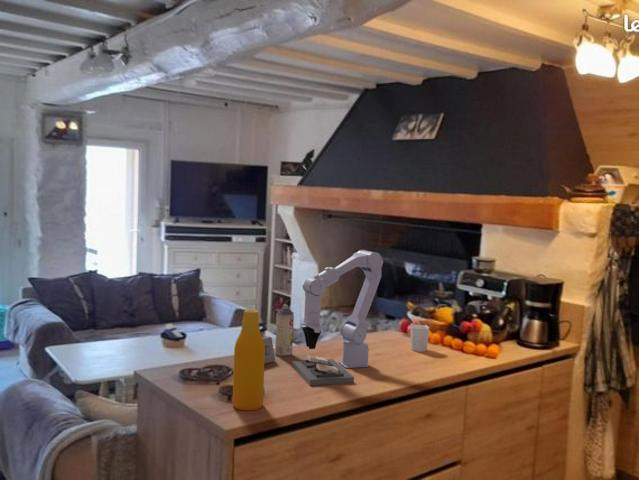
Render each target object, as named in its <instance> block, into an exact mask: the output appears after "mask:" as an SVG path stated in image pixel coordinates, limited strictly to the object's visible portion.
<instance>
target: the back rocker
mask: <svg viewBox="0 0 639 480" xmlns="http://www.w3.org/2000/svg"><path fill="white" fill-rule="evenodd" d="M327 359H328V358H325V357H320V356H315V355H310V354H307V356H306V360H309V361H311V362H316V363H318V361H321V363H323V364H328V360H327Z"/></svg>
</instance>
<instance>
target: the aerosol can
mask: <svg viewBox="0 0 639 480" xmlns="http://www.w3.org/2000/svg"><path fill="white" fill-rule="evenodd" d="M294 316H295V314H294V311H292V310H291V309H290V307H289V305H288V304H283V306H282V307H281V308H280V309H279V311H276V323H275V324H276V325H275V347H274V355H275V357H276V356H277V357H281V358H282V357H283V358H287V357H291V356H292V355H293V341H294V323H295V322H294V320H295V319H294V318H295V317H294Z"/></svg>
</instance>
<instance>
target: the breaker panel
mask: <svg viewBox="0 0 639 480" xmlns="http://www.w3.org/2000/svg"><path fill="white" fill-rule="evenodd" d="M326 359H327V360H328V364H323V363H321V361H318V363H316V362H311V361H309V360H308V359H301V360H292V361H291V367H292V368H293V369H294V370H295V372H297V374H298V375H299V376H300V377H301V378H302V379H303V380H304V381H305V383H307V384H308V386H326V385H339V384H354V383H355V382H354V381H355V376H353V375H352V374H351V373H350V372H348V371H347V370H346V368H345V367H344V366H343V367H342V365H341V364H340V363H339V362H338V361H335V360H334V359H332V358H331V359H330V358H329V359H328V358H326ZM316 364H322V365H327V366H333V367H336V368H337V369H338V370H339V371H338V373H332V371H328V373H327V372H326V371H320V370H318V369H317V368H316Z"/></svg>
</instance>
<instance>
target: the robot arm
mask: <svg viewBox="0 0 639 480" xmlns="http://www.w3.org/2000/svg"><path fill="white" fill-rule="evenodd" d="M383 264H384V259H383V257H382V255H381V254H380V253H379V252H376V251H375V252H374V251H370V250H366V249H360V250H358V251H357V252H354V253H353V254H352V256H350V257H349V258H347V259H346V260H344V261H342V263H340V264H338V265H337V266H335V267H332V266H330V267H328V266H327V267H325V268H324V270H323V271H321V272H319V273H318V274H317V273H316V274H314V277H308V278H306V279H305V280H304V283H303V284H302V290H303V291H304V296H305V297H304V314H303V315H304V317H303V321H302V322H300V325H301V326H302V327H301V330H302V331H303V335H304V339H305V345H306V348H307V347H308V349H309V350H315V349H316V347H317V343H318V340H319V337H320V335H321V333H322V330H321V328H322V327H321V321H320V320H321V306H322V305H321V301H322V294H323V293H324V292H325V289H326V288H328V287H330V286H331V285H334V283H337V282H338V281H339V279H340V276H342V275H344V274H346V273H347V272H349V271H351V270H353V269H355V268H357V267H359V268H360V269H361V270H362V271H363V273H364V275H365V279H364V280H363V284H362V287H361V289H360V292H359V295H358V298H357V299H356V302H355V305H354V308H353V311H352V313H351V315H349V316H348V317H346V319H345V321H344V323H343V324H342V325H341V326H340V328H339V329H340V330H339V332H340V333H339V334H340V336H341V337H342V341H343V342H342V357H341V358H342V359H341V360H338V361H337V363H338V364H339V365H340V366H341V367H342V366H343V368H344V369H350V368H351V369H352V368H353V369H354V368H369V345H368V343H367V341H365V340H366V338H367V329H368V324H367V321H366V319H367V317H368V313H369V311H370V308H371V306H372V304H373V303H372V302H373V300H374V298H375V295H376V294H377V289H378V286H379V283H380V281H381V279H382V267H383Z"/></svg>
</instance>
